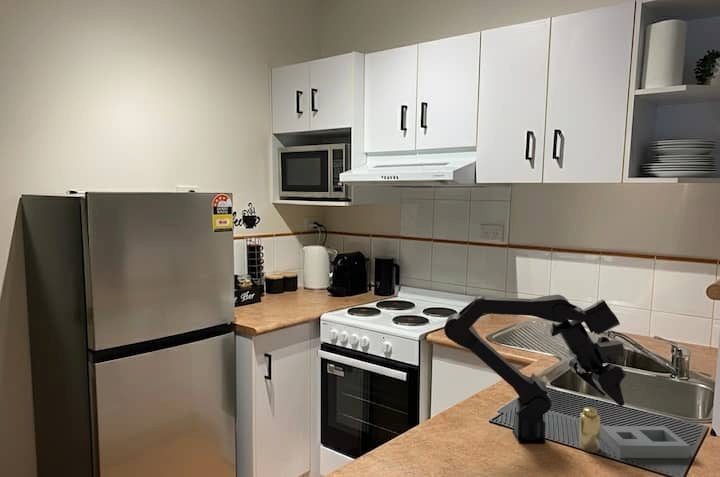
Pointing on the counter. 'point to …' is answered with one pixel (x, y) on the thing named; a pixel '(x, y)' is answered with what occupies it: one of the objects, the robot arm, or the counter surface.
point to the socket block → (644, 442)
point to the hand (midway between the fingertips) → (613, 399)
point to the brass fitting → (589, 430)
